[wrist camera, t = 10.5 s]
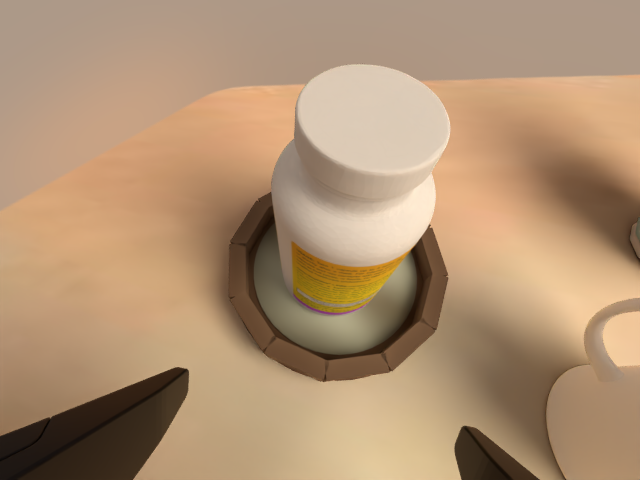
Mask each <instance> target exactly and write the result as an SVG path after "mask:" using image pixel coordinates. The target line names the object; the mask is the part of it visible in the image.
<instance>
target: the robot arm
mask: <svg viewBox="0 0 640 480" xmlns="http://www.w3.org/2000/svg"><path fill="white" fill-rule="evenodd" d="M188 383H189V371H188V370H187V369H185V368H180V367H176V368H173V369H170V370H168V371H165V372H163V373H160V374H158V375H155V376H153V377H150V378H148V379H145V380H143V381H140V382H138V383H135V384H133V385H130V386H128V387H125V388H123V389H120V390H117V391H115V392H112V393H110V394H107V395H105V396H102V397H100V398H97V399H95V400H92V401H90V402H87V403H85V404H82V405H80V406H77V407H75V408H72V409H70V410H67V411H65V412H62V413H60V414H57V415H55V416H52V417H51V419H50V418H46V419H43V420H41V421H38V422H36V423H33V424H31V425H28V426H26V427H23V428H20V429H18V430H15V431H12V432H10V433H7V434H5V435H2V436H0V480H133V479H134V478H135V476H136V475H137V473H138V472H139V471H140V469H141V468H142V466H143V465H144V464H145V462H146V461H147V459H148V458H149V457H150V455H151V454H152V452H153V451H154V450H155V448H156V447H157V445H158V444H159V442H160V441H161V439H162V438H163V436H164V434H165V433H166V431H167V429H168V428H169V426H170V424H171V422H172V421H173V419H174V417H175V415H176V414H177V412H178V410H179V408H180V407H181V405H182V403H183V401H184V400H185V398H186V396H187V393H188ZM455 456H456V460H457V464H458V468H459V472H460V475H461V479H462V480H539V479H538V478H537V477H536V476H534V475H533V474H532V473H531V472H530V471H528V470H527V469H526V468H525V467H523V466H522V465H521V464H520V463H518V462H517V461H516V460H515V459H514V458H512V457H511V456H510V455H509V454H507V453H506V452H505V451H504V450H503V449H501V448H500V447H499V446H498V445H496V444H495V443H494V442H493V441H491V440H490V439H489V438H488V437H487V436H485V435H484V434H483V433H482V432H480V431H479V430H478V429H476V428H474V427H469V426H463V427H462V428H461V430H460V432H459V435H458V438H457V440H456V443H455Z"/></svg>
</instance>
